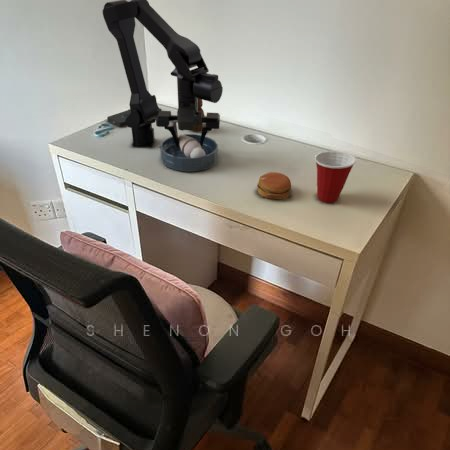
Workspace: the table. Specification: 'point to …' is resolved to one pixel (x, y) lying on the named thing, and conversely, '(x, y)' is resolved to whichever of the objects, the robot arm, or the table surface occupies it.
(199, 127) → the wooden figurine
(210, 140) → the bowl
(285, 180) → the burger
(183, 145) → the ice cream cone
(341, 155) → the plastic cup
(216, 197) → the table surface
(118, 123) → the smart home device
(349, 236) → the table surface
